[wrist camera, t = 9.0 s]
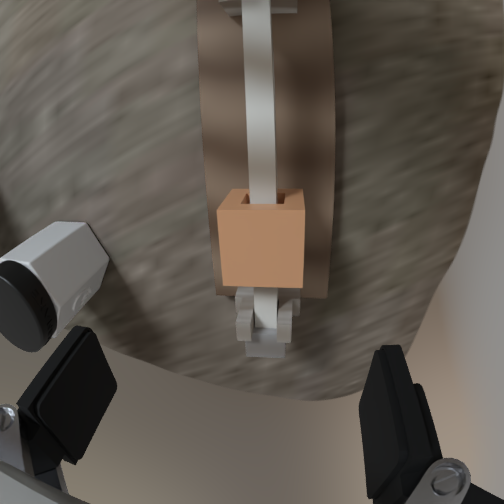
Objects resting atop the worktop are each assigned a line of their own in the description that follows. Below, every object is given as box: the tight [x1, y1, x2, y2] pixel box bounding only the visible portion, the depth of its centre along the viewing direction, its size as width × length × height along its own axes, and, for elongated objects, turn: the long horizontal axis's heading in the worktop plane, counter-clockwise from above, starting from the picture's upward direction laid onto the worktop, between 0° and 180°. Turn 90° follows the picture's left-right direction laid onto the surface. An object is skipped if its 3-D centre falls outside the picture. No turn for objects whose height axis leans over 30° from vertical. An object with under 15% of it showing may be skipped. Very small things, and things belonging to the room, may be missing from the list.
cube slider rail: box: [197, 0, 335, 358], centre depth 21 cm, size 28×10×8 cm, turn 2°
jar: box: [0, 221, 109, 352], centre depth 26 cm, size 9×8×12 cm
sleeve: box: [217, 189, 305, 288], centre depth 21 cm, size 5×5×5 cm
